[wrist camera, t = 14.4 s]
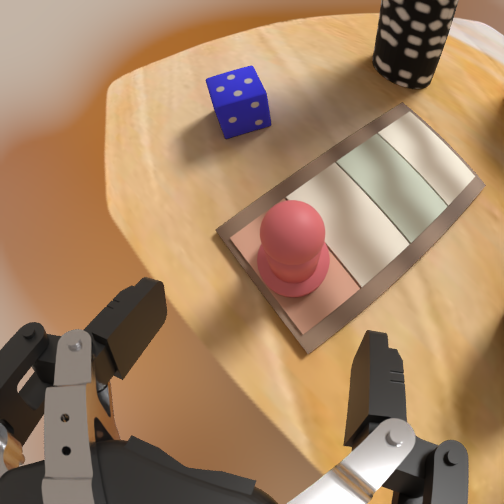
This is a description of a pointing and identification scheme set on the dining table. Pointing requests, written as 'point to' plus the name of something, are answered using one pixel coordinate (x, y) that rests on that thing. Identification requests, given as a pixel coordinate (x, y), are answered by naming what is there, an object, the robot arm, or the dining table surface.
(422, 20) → the white-spotted black cylinder
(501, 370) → the dining table surface
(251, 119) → the die
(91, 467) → the robot arm
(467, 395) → the dining table surface
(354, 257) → the game track
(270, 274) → the pawn
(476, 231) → the dining table surface
